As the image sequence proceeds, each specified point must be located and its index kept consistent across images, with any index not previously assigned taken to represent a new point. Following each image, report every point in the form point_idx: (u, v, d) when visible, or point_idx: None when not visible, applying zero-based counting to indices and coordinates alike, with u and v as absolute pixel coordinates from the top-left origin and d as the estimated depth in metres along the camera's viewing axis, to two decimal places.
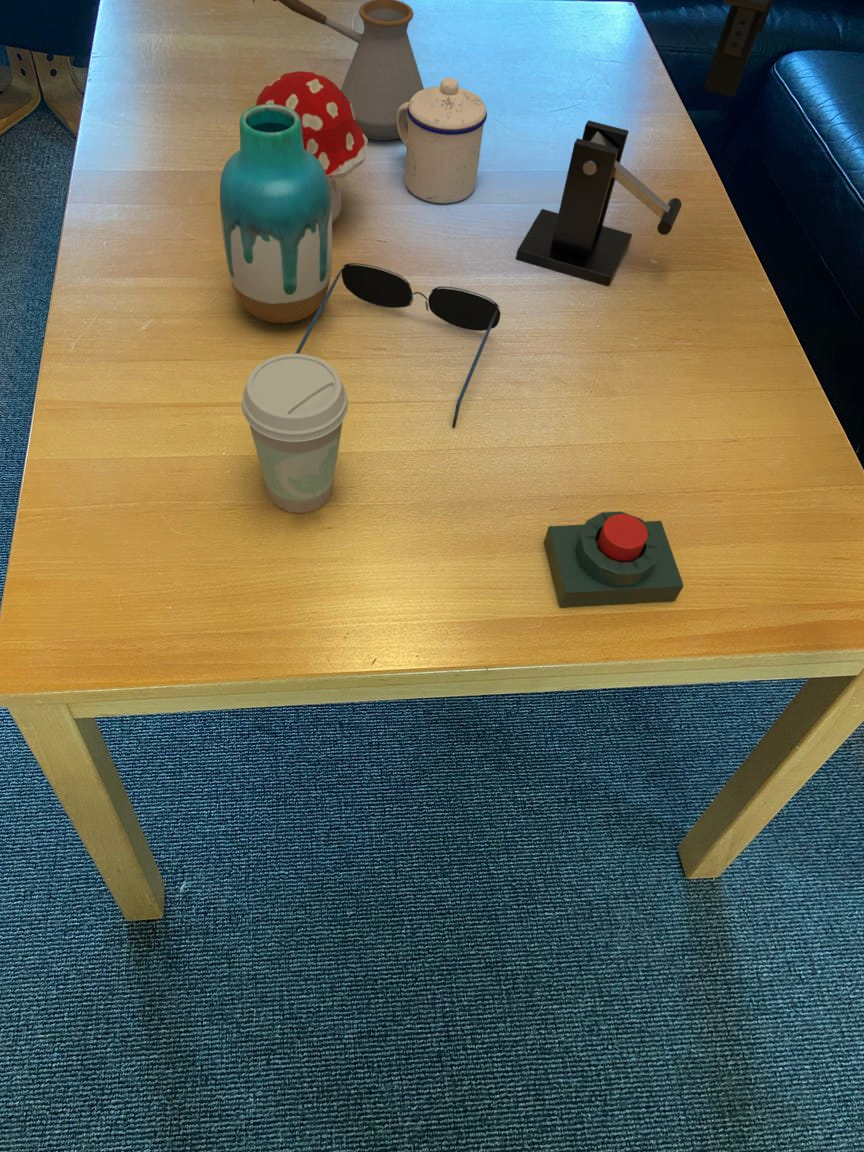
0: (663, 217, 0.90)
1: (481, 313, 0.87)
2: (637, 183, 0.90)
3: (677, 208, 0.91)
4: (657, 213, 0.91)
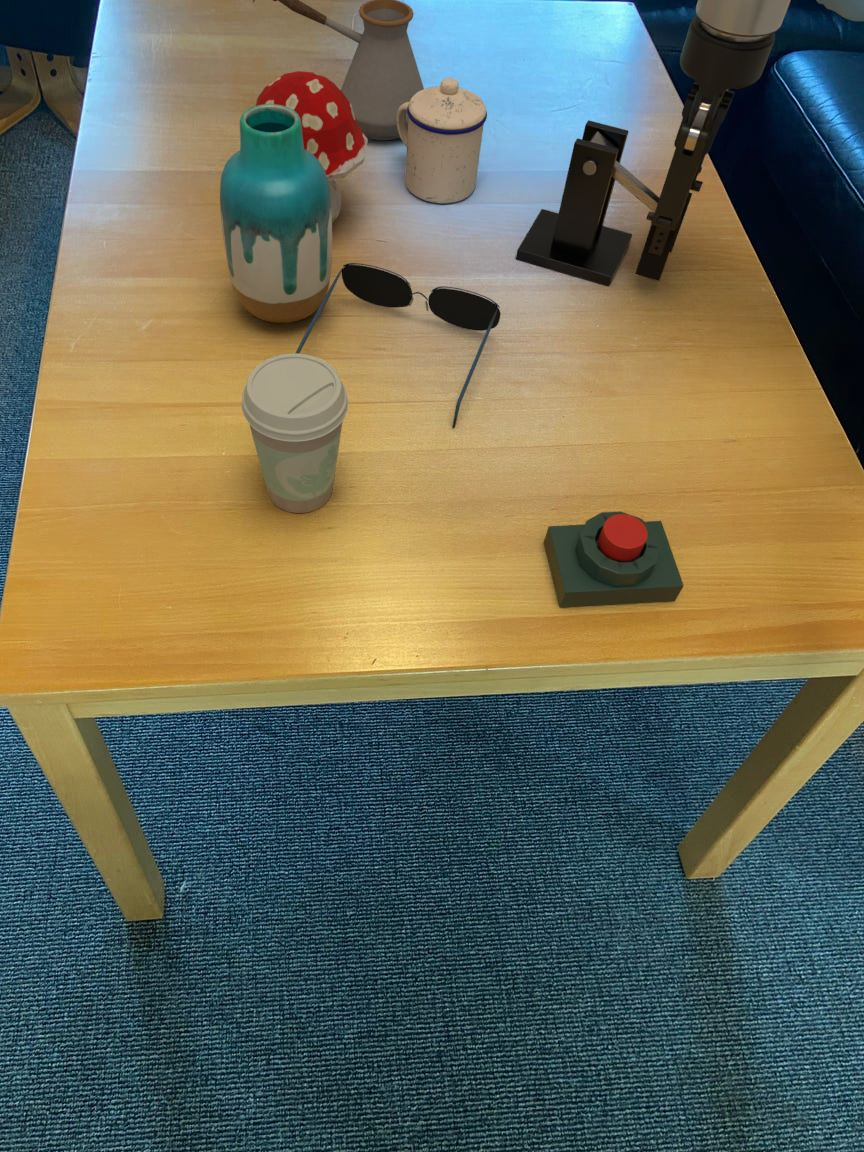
0: None
1: (481, 313, 0.87)
2: (637, 183, 0.90)
3: None
4: None
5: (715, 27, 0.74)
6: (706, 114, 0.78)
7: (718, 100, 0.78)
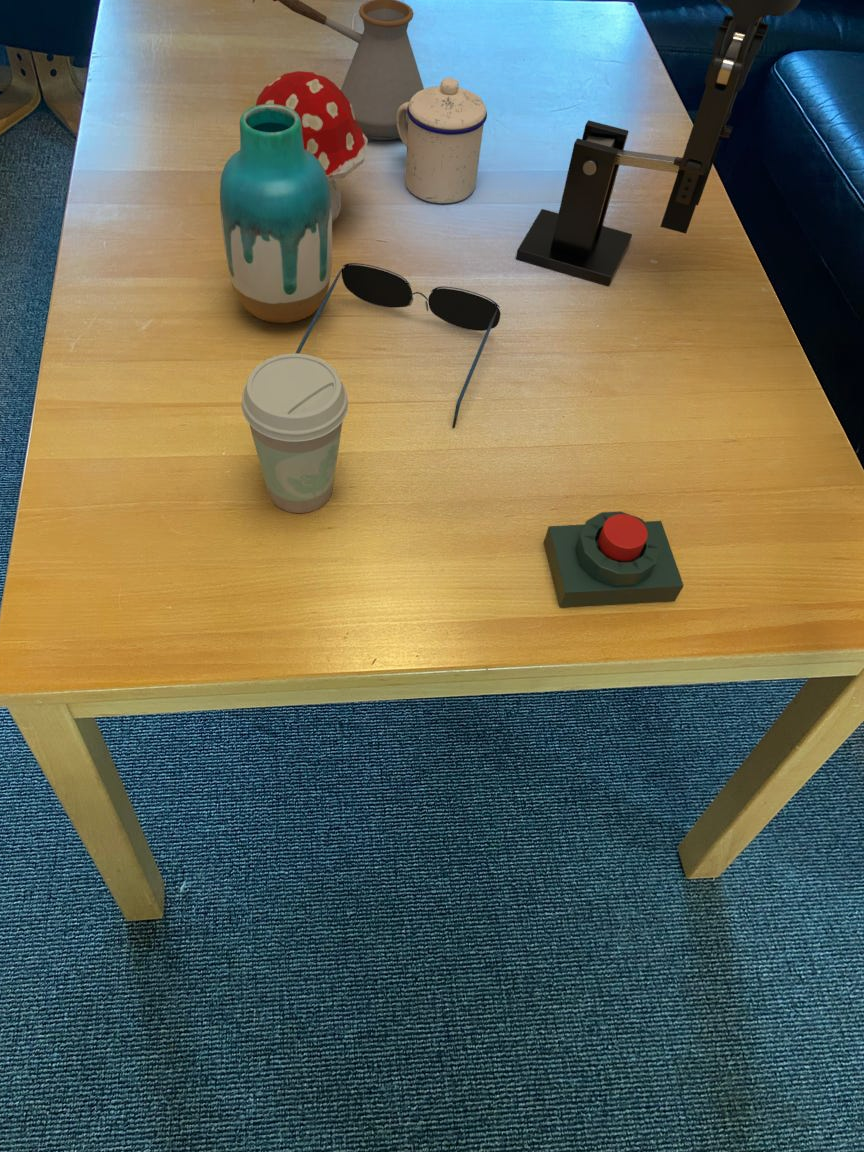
0: None
1: (481, 313, 0.87)
2: (647, 156, 0.87)
3: None
4: None
5: None
6: (740, 44, 0.73)
7: (753, 29, 0.73)
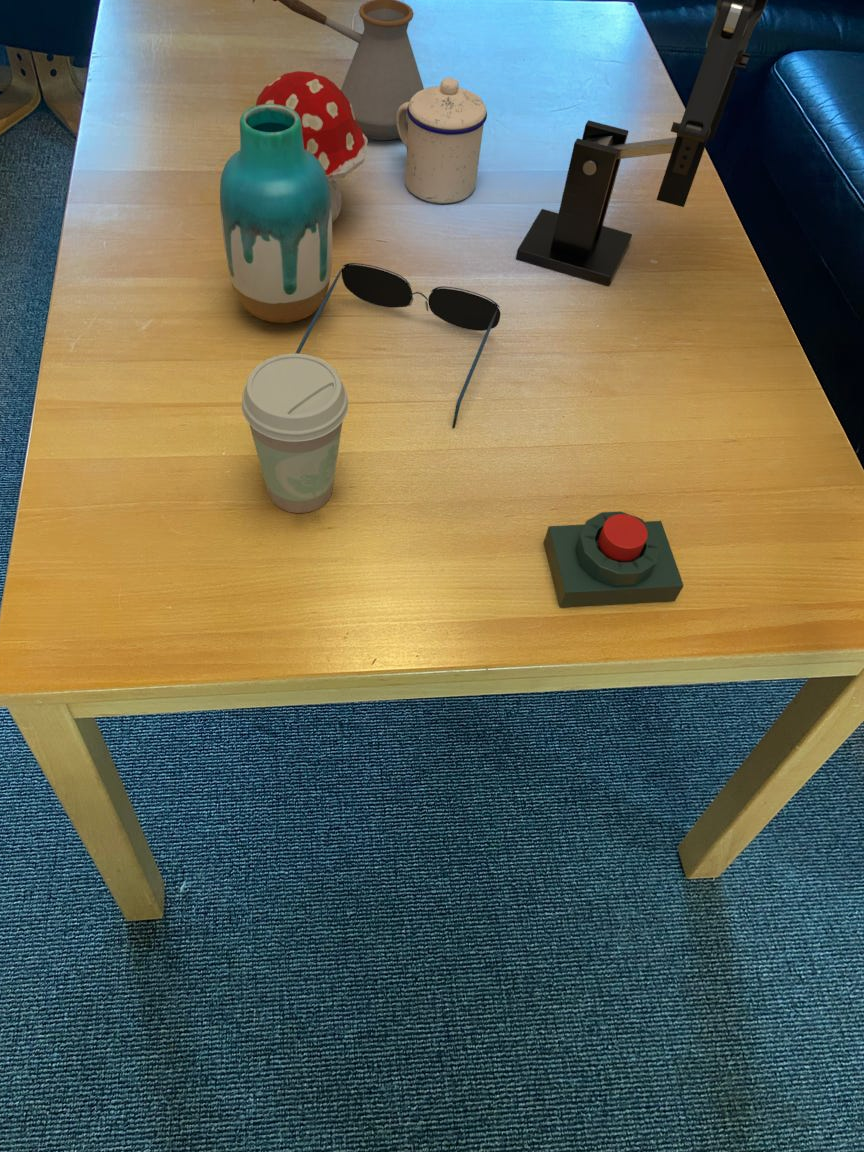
0: None
1: (481, 313, 0.87)
2: (647, 144, 0.86)
3: None
4: None
5: None
6: None
7: None
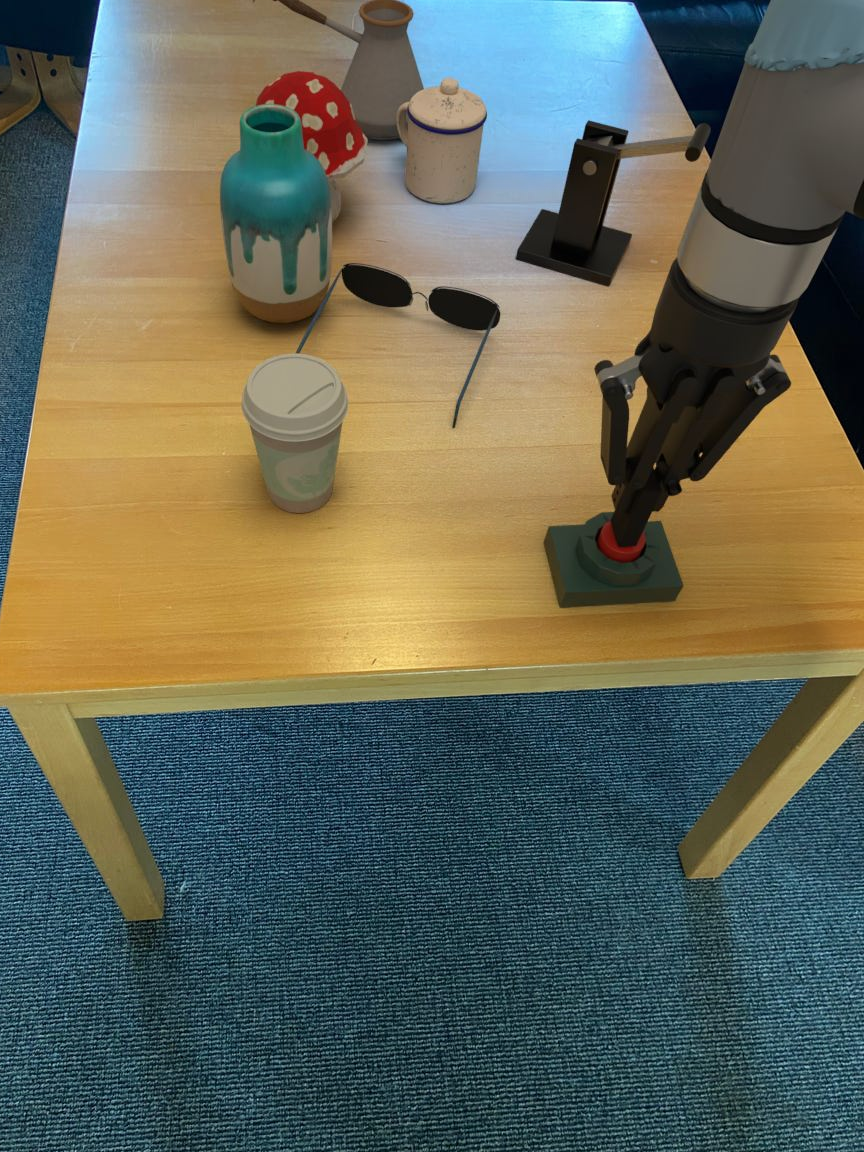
0: None
1: (481, 313, 0.87)
2: (647, 144, 0.86)
3: (702, 130, 0.84)
4: (683, 149, 0.85)
5: (677, 251, 0.49)
6: (638, 364, 0.54)
7: (658, 353, 0.53)
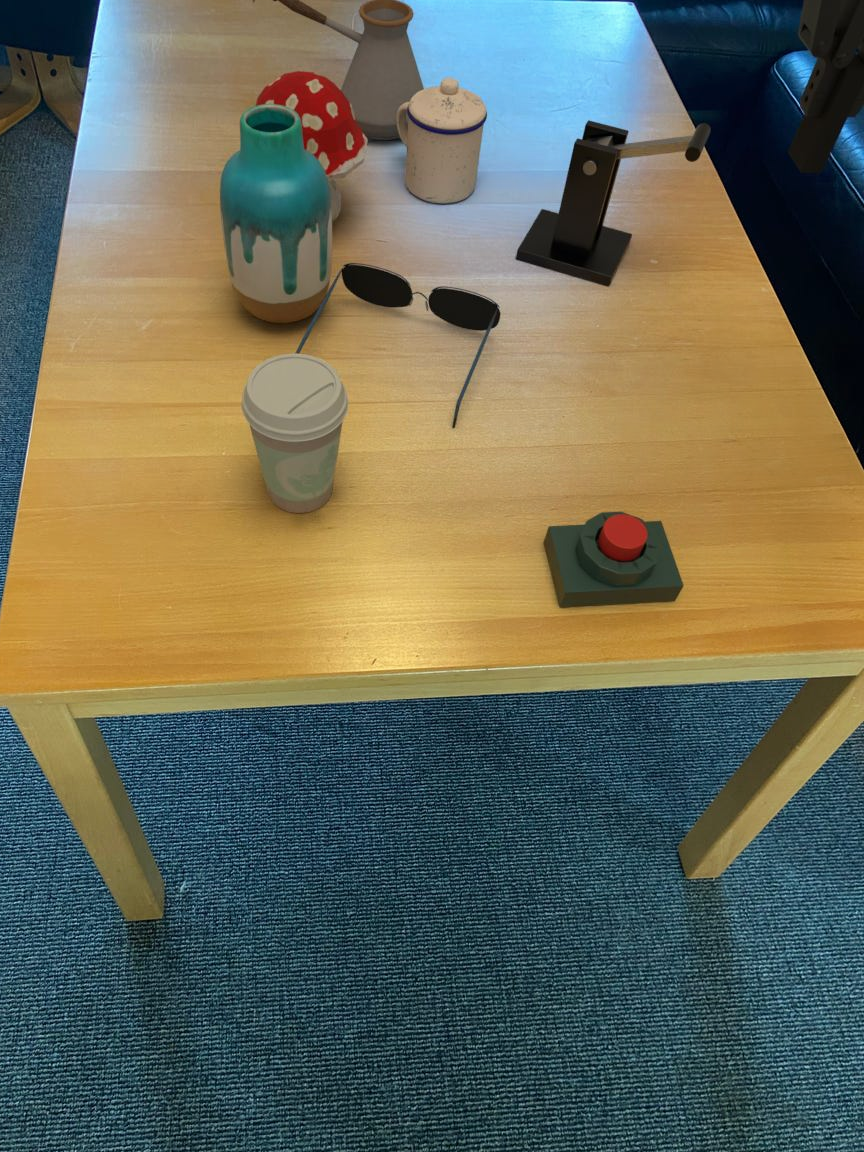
0: None
1: (481, 313, 0.87)
2: (647, 144, 0.86)
3: (702, 130, 0.84)
4: (683, 149, 0.85)
5: None
6: None
7: None
